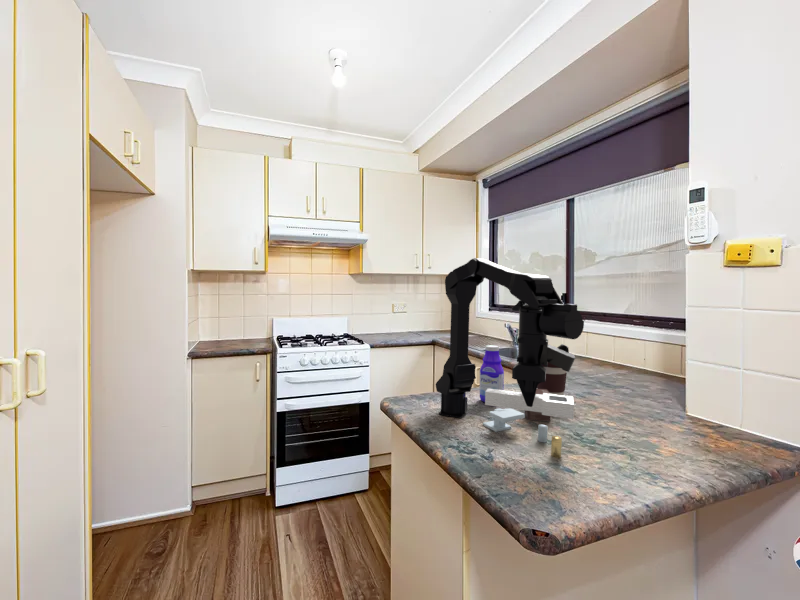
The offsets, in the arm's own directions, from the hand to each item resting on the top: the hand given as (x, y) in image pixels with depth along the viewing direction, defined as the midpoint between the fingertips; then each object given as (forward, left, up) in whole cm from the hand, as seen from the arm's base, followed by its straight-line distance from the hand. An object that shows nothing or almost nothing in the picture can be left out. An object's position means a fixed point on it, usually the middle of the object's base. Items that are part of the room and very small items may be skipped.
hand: (530, 404), depth 84 cm
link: (0, 0, -1) cm, 1 cm away
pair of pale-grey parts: (-4, +10, -11) cm, 15 cm away
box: (+1, +24, -11) cm, 26 cm away
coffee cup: (+4, +40, -11) cm, 42 cm away
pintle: (+6, 0, -10) cm, 12 cm away
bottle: (-13, +33, -11) cm, 37 cm away
